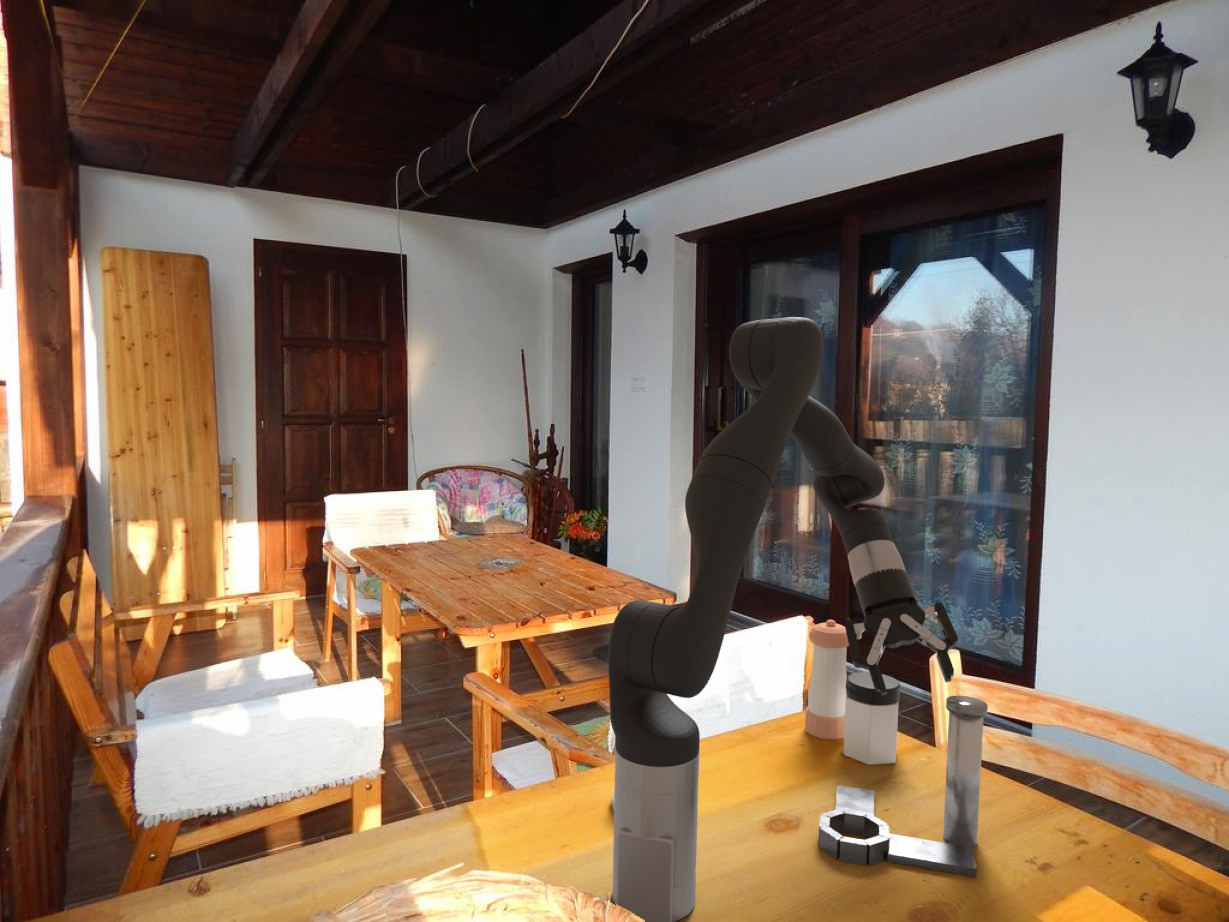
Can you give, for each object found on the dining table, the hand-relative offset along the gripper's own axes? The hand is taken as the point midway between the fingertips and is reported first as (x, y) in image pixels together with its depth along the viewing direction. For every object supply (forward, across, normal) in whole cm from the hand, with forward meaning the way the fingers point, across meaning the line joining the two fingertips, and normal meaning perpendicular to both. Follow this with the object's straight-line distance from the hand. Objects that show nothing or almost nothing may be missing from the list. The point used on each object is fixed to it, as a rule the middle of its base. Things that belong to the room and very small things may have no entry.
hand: (916, 687), depth 110 cm
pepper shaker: (-3, -14, +29) cm, 33 cm away
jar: (+3, -8, +24) cm, 25 cm away
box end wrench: (+16, -8, +4) cm, 19 cm away
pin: (+18, 0, +5) cm, 19 cm away
